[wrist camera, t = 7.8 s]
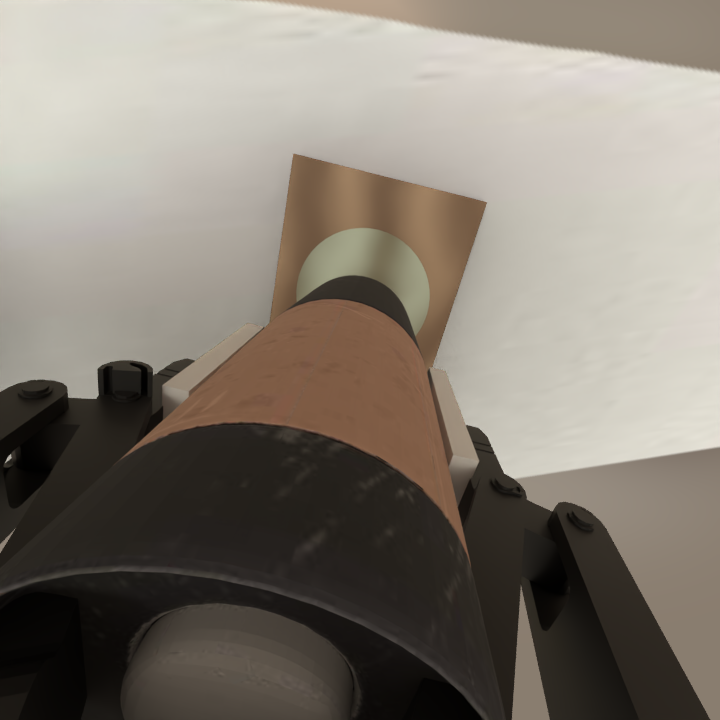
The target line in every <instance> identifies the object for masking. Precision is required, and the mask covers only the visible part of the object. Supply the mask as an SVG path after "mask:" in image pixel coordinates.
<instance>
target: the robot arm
mask: <svg viewBox="0 0 720 720" xmlns="http://www.w3.org/2000/svg"><path fill="white" fill-rule="evenodd" d="M263 329H264V327H262V326H258V325H254V324H250V323H247V324H246V325H244V326H243V327H241V328H240V329H239V330H237V331H236V332H235V333H233V334H232V335H230V336H229V337H228V338H226V339H225V340H224V341H222V342H221V343H219V344H218V345H217V346H215V347H214V348H213V349H211V350H210V351H208V352H207V353H206V354H204V355H203V356H202V357H200V358H199V359H197V360H196V361H194V360H190V359H183V360H180V361H176V362H173V363H171V364H170V365H168V366H167V367H165V368H164V369H162V370H161V371H159V372H158V373H157V374H155V375H153V369H152V367H150V366H149V365H148V364H145V363H142V362H138V361H115V362H110V363H107V364H104V365H102V366H101V367H99V368H98V389H99V396H98V397H97V399H80V398H68V393H67V386H65V385H64V384H63V383H60V382H56V381H50V380H30V381H28V382H23V383H19V384H16V385H13V386H11V387H9V388H7V389H5V390H3V391H1V392H0V543H1V542H2V541H3V540H5V538H6V537H7V536H8V535H9V534H10V533H11V532H12V531H13V530H14V529H15V528H16V529H15V531H14V532H13V534H12V535H11V537H10V539H9V540H8V542H7V544H6V545H5V547H4V548H3V550H2V551H1V553H0V568H1V567H2V566H3V565H4V564H6V563H7V562H8V561H9V560H10V559H11V558H12V557H13V556H14V555H15V554H17V553H18V552H19V551H20V550H21V549H22V548H23V547H24V546H25V545H26V544H28V543H29V542H30V541H31V540H32V539H33V538H34V537H35V536H36V535H37V534H39V533H40V532H41V531H42V530H43V529H44V528H45V527H46V526H47V525H48V524H50V523H51V522H52V521H53V520H54V519H55V518H56V517H57V516H58V515H59V514H61V513H62V512H63V511H64V510H65V509H66V508H67V507H68V506H69V505H70V504H72V503H73V502H74V501H75V500H76V499H77V498H78V497H79V496H80V495H81V494H83V493H84V492H85V491H86V490H87V489H88V488H89V487H90V486H91V485H92V484H94V483H95V482H96V481H97V480H98V479H99V478H100V477H101V476H102V475H103V474H105V473H106V472H107V471H108V470H109V469H110V468H111V467H112V466H113V465H114V464H116V463H117V462H118V461H119V460H120V459H121V458H122V457H123V456H124V455H125V454H127V453H128V452H129V451H130V450H131V449H132V448H133V447H134V446H135V445H136V444H138V443H139V442H140V441H141V440H142V439H143V438H144V437H145V436H146V435H147V434H149V433H150V432H151V431H152V430H153V429H154V428H155V427H156V426H157V425H158V424H160V423H161V422H162V421H163V420H164V419H165V418H166V417H167V416H168V415H169V414H170V413H172V412H173V411H174V410H175V409H176V408H177V407H178V406H179V405H180V404H181V403H183V402H184V401H185V400H186V399H187V398H188V397H189V396H190V395H191V394H192V393H194V392H195V391H196V390H197V389H198V388H199V387H200V386H201V385H202V384H203V383H205V382H206V381H207V380H208V379H209V378H210V377H211V376H212V375H213V374H214V373H216V372H217V371H218V370H219V369H220V368H221V367H222V366H223V365H224V364H225V363H226V362H228V361H229V360H230V359H231V358H232V357H233V356H234V355H235V354H236V353H237V352H239V351H240V350H241V349H242V348H243V347H244V346H245V345H246V344H247V343H248V342H250V341H251V340H252V339H253V338H254V337H255V336H256V335H257V334H258V333H259V332H261V331H262V330H263ZM427 375H428V380H429V384H430V389H431V393H432V397H433V402H434V406H435V410H436V415H437V419H438V424H439V428H440V432H441V437H442V441H443V445H444V450H445V454H446V459H447V463H448V467H449V472H450V476H451V480H452V485H453V489H454V494H455V498H456V502H457V507H458V511H459V515H460V520H461V524H462V529H463V533H464V537H465V542H466V546H467V550H468V555H469V559H470V564H471V570H472V573H473V577H474V581H475V585H476V590H477V594H478V598H479V603H480V607H481V611H482V616H483V620H484V625H485V629H486V633H487V638H488V642H489V646H490V651H491V655H492V659H493V664H494V668H495V673H496V677H497V681H498V686H499V690H500V694H501V699H502V703H503V707H504V712H505V718H506V720H512V707H513V692H514V691H513V690H514V677H515V662H516V647H517V631H518V618H519V602H520V587H521V586H522V591H523V596H524V601H525V605H526V610H527V615H528V619H529V624H530V629H531V633H532V638H533V642H534V647H535V652H536V657H537V661H538V666H539V671H540V675H541V680H542V685H543V689H544V694H545V699H546V703H547V708H548V712H549V717H550V720H710V719H709V717H708V715H707V713H706V711H705V709H704V708H703V706H702V704H701V702H700V700H699V698H698V697H697V695H696V693H695V691H694V689H693V687H692V685H691V684H690V682H689V680H688V678H687V676H686V674H685V673H684V671H683V669H682V667H681V666H680V664H679V662H678V660H677V658H676V656H675V654H674V652H673V651H672V649H671V647H670V645H669V643H668V641H667V640H666V638H665V636H664V634H663V632H662V631H661V629H660V627H659V625H658V623H657V621H656V619H655V618H654V616H653V614H652V612H651V610H650V609H649V607H648V605H647V603H646V601H645V599H644V597H643V596H642V594H641V592H640V590H639V589H638V586H637V585H636V583H635V581H634V579H633V577H632V575H631V574H630V572H629V570H628V568H627V566H626V564H625V563H624V561H623V559H622V557H621V555H620V553H619V552H618V550H617V548H616V546H615V544H614V542H613V541H612V539H611V537H610V535H609V533H608V531H607V529H606V528H605V527H604V526H603V524H602V523H601V521H599V519H597V518H596V517H595V516H594V515H593V514H592V513H591V512H589V511H588V510H586V509H585V508H582V507H580V506H577V505H575V504H572V503H568V502H561V503H558V504H557V505H556V507H555V509H554V510H553V512H552V511H550V510H547V509H545V508H543V507H541V506H539V505H536V504H534V503H532V502H530V501H528V500H527V497H526V493H525V490H524V489H523V488H522V486H521V485H520V484H519V483H518V482H517V481H515V480H514V479H513V478H511V477H509V476H507V475H506V474H504V473H503V470H502V468H501V466H500V464H499V462H498V459H497V457H496V455H495V454H494V451H493V448H492V447H491V444H490V442H489V440H488V437H487V436H486V435H485V434H484V433H483V432H482V431H481V430H480V429H479V428H476V427H472V426H468V425H465V422H464V419H463V417H462V414H461V411H460V409H459V406H458V403H457V401H456V398H455V395H454V393H453V390H452V388H451V385H450V382H449V380H448V377H447V374H446V372H445V371H443V370H439V369H435V368H431V367H429V369H428V372H427ZM10 454H11V457H12V458H11V459H10V460H9V461H8V462H6V459H7V457H8V456H9V455H10ZM5 462H6V463H5ZM86 699H87V687H86V676H85V665H84V655H83V645H82V634H81V624H80V614H79V603H78V599H76V598H72V597H67V596H63V595H58V594H51V593H45V592H33V593H29V594H25V595H22V596H21V597H19V598H17V599H15V600H13V601H11V602H10V603H9V604H7V605H6V606H5V607H3V608H2V609H1V610H0V720H81V717H82V714H83V710H84V706H85V703H86ZM403 720H482V718H481V716H480V715H479V714H478V713H477V712H476V710H475V709H474V708H473V707H472V706H471V705H470V703H469V702H468V701H467V700H466V699H465V698H464V696H463V695H462V694H461V693H460V692H459V691H458V690H457V689H456V688H455V687H454V686H452V685H451V684H448V683H444V682H440V681H436V680H432V679H428V678H423V680H422V682H421V684H420V686H419V688H418V690H417V692H416V694H415V696H414V698H413V700H412V702H411V704H410V706H409V708H408V710H407V712H406V714H405V716H404V718H403Z"/></svg>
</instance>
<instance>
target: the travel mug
mask: <svg viewBox="0 0 720 720" xmlns="http://www.w3.org/2000/svg"><path fill="white" fill-rule="evenodd" d="M33 592H45V593H51V594H58V595H63V596H67V597H72V598H76V599H78V603H79V614H80V624H81V634H82V645H83V655H84V665H85V676H86V687H87V699H86V703H85V706H84V710H83V714H82V717H81V720H403V718H404V716H405V714H406V712H407V710H408V708H409V706H410V704H411V702H412V700H413V698H414V696H415V694H416V692H417V690H418V688H419V686H420V684H421V682H422V680H423V678H428V679H432V680H436V681H440V682H444V683H448V684H451V685H452V686H454V687H455V688H456V689H457V690H458V691H459V692H460V693H461V694H462V695H463V696H464V698H465V699H466V700H467V701H468V702H469V703H470V705H471V706H472V707H473V708H474V709H475V710H476V712H477V713H478V714H479V715H480V716H481V718H482V720H506V718H505V712H504V707H503V703H502V699H501V694H500V690H499V686H498V681H497V677H496V673H495V668H494V664H493V659H492V655H491V651H490V646H489V642H488V638H487V633H486V629H485V625H484V620H483V616H482V611H481V607H480V603H479V598H478V594H477V590H476V585H475V581H474V577H473V573H472V570H471V564H470V559H469V555H468V550H467V546H466V542H465V537H464V533H463V529H462V524H461V520H460V515H459V511H458V507H457V502H456V498H455V494H454V489H453V485H452V480H451V476H450V472H449V467H448V463H447V459H446V454H445V450H444V445H443V441H442V437H441V432H440V428H439V424H438V419H437V415H436V410H435V406H434V402H433V397H432V393H431V389H430V384H429V380H428V375H427V371H426V368H425V364H424V361H423V357H422V354H421V351H420V348H419V346H418V343H417V340H416V337H415V334H414V331H413V328H412V325H411V322H410V319H409V317H408V314H407V312H406V310H405V307H404V306H403V304H402V302H401V301H400V299H399V298H398V297H397V295H396V294H395V293H394V292H393V291H392V290H391V289H390V288H388V287H387V286H386V285H384V284H383V283H381V282H379V281H377V280H374V279H372V278H369V277H365V276H357V275H348V276H342V277H338V278H334V279H331V280H329V281H327V282H325V283H323V284H322V285H320V286H319V287H317V288H316V289H314V290H313V291H312V292H310V293H309V294H307V295H306V296H305V297H303V298H302V299H301V300H299V301H298V302H296V303H295V304H294V305H292V306H291V307H290V308H288V309H287V310H285V311H284V312H283V313H281V314H280V315H279V316H278V317H276V318H275V319H274V320H273V321H272V322H270V323H269V324H268V325H267V326H266V327H265V328H264V329H263V330H262V331H261V332H259V333H258V334H257V335H256V336H255V337H254V338H253V339H252V340H251V341H250V342H248V343H247V344H246V345H245V346H244V347H243V348H242V349H241V350H240V351H239V352H237V353H236V354H235V355H234V356H233V357H232V358H231V359H230V360H229V361H228V362H226V363H225V364H224V365H223V366H222V367H221V368H220V369H219V370H218V371H217V372H216V373H214V374H213V375H212V376H211V377H210V378H209V379H208V380H207V381H206V382H205V383H203V384H202V385H201V386H200V387H199V388H198V389H197V390H196V391H195V392H194V393H192V394H191V395H190V396H189V397H188V398H187V399H186V400H185V401H184V402H183V403H181V404H180V405H179V406H178V407H177V408H176V409H175V410H174V411H173V412H172V413H170V414H169V415H168V416H167V417H166V418H165V419H164V420H163V421H162V422H161V423H160V424H158V425H157V426H156V427H155V428H154V429H153V430H152V431H151V432H150V433H149V434H147V435H146V436H145V437H144V438H143V439H142V440H141V441H140V442H139V443H138V444H136V445H135V446H134V447H133V448H132V449H131V450H130V451H129V452H128V453H127V454H125V455H124V456H123V457H122V458H121V459H120V460H119V461H118V462H117V463H116V464H114V465H113V466H112V467H111V468H110V469H109V470H108V471H107V472H106V473H105V474H103V475H102V476H101V477H100V478H99V479H98V480H97V481H96V482H95V483H94V484H92V485H91V486H90V487H89V488H88V489H87V490H86V491H85V492H84V493H83V494H81V495H80V496H79V497H78V498H77V499H76V500H75V501H74V502H73V503H72V504H70V505H69V506H68V507H67V508H66V509H65V510H64V511H63V512H62V513H61V514H59V515H58V516H57V517H56V518H55V519H54V520H53V521H52V522H51V523H50V524H48V525H47V526H46V527H45V528H44V529H43V530H42V531H41V532H40V533H39V534H37V535H36V536H35V537H34V538H33V539H32V540H31V541H30V542H29V543H28V544H26V545H25V546H24V547H23V548H22V549H21V550H20V551H19V552H18V553H17V554H15V555H14V556H13V557H12V558H11V559H10V560H9V561H8V562H7V563H6V564H4V565H3V566H2V567H1V568H0V610H1V609H2V608H3V607H5V606H6V605H7V604H9V603H10V602H11V601H13V600H15V599H17V598H19V597H21V596H22V595H25V594H29V593H33Z"/></svg>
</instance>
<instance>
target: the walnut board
mask: <svg viewBox="0 0 720 720" xmlns="http://www.w3.org/2000/svg"><path fill="white" fill-rule="evenodd" d="M486 204H487V202H484V201H480V200H476V199H472V198H468V197H464V196H460V195H456V194H452V193H448V192H444V191H440V190H436V189H432V188H428V187H424V186H420V185H416V184H412V183H408V182H404V181H400V180H396V179H392V178H388V177H384V176H380V175H376V174H372V173H368V172H364V171H360V170H356V169H352V168H348V167H344V166H340V165H336V164H332V163H328V162H324V161H320V160H316V159H312V158H308V157H305V156H301V155H297V154H293V160H292V167H291V174H290V181H289V189H288V196H287V203H286V210H285V217H284V224H283V231H282V238H281V245H280V252H279V260H278V267H277V274H276V281H275V288H274V295H273V302H272V309H271V316H270V322H272V321H273V320H274V319H275V318H276V317H278V316H279V315H280V314H281V313H283V312H284V311H285V310H287V309H288V308H290V307H291V306H292V305H294V304H295V303H296V302H298V301H299V300H301V299H302V298H303V297H305V296H306V295H307V294H309V293H310V292H312V291H313V290H314V289H316V288H317V287H319V286H320V285H322V284H323V283H325V282H327V281H329V280H331V279H334V278H338V277H342V276H348V275H357V276H365V277H369V278H372V279H374V280H377V281H379V282H381V283H383V284H384V285H386V286H387V287H388V288H390V289H391V290H392V291H393V292H394V293H395V294H396V295H397V297H398V298H399V299H400V301H401V302H402V304H403V306H404V307H405V310H406V312H407V314H408V317H409V319H410V322H411V325H412V328H413V331H414V334H415V337H416V340H417V343H418V346H419V348H420V351H421V354H422V357H423V361H424V364H425V368H426V371H427V372H428V369H429V367H431V368H432V366H433V363H434V360H435V357H436V354H437V351H438V348H439V345H440V342H441V339H442V336H443V333H444V330H445V327H446V324H447V321H448V318H449V315H450V312H451V309H452V306H453V303H454V300H455V297H456V294H457V291H458V288H459V285H460V282H461V279H462V276H463V273H464V270H465V267H466V264H467V261H468V258H469V255H470V252H471V249H472V246H473V243H474V240H475V237H476V234H477V231H478V228H479V225H480V222H481V219H482V216H483V213H484V210H485V207H486Z"/></svg>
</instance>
